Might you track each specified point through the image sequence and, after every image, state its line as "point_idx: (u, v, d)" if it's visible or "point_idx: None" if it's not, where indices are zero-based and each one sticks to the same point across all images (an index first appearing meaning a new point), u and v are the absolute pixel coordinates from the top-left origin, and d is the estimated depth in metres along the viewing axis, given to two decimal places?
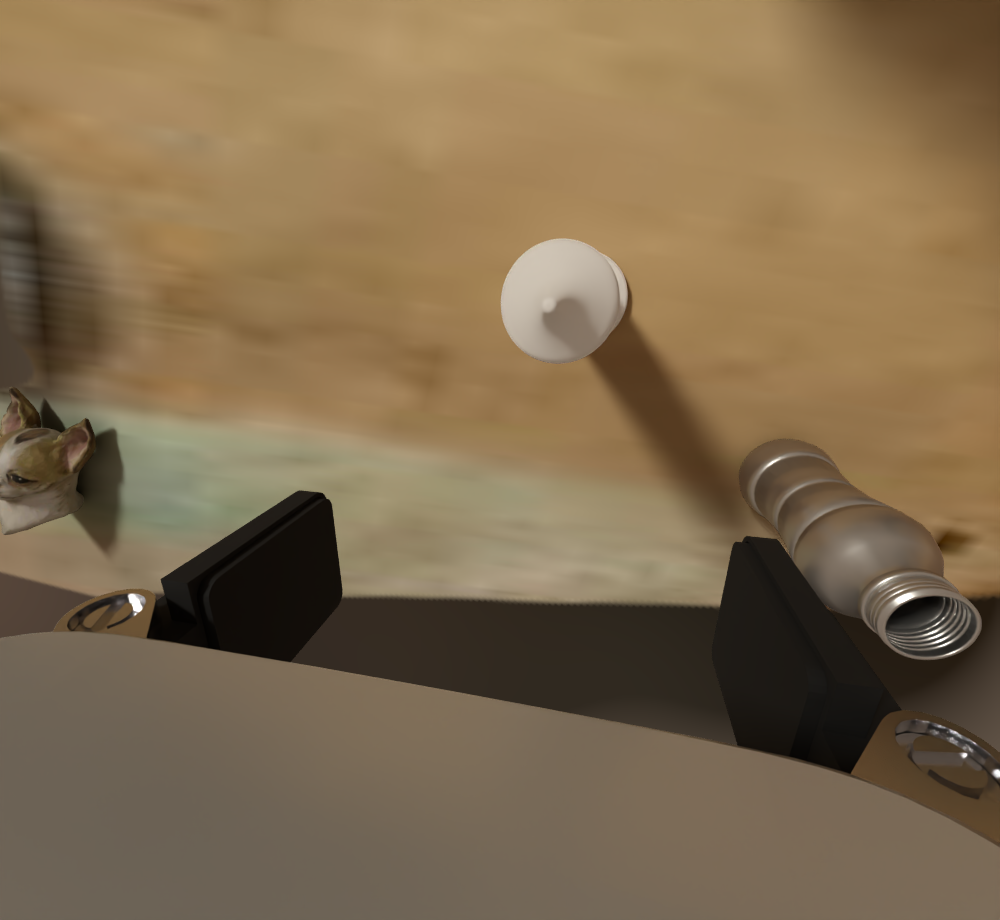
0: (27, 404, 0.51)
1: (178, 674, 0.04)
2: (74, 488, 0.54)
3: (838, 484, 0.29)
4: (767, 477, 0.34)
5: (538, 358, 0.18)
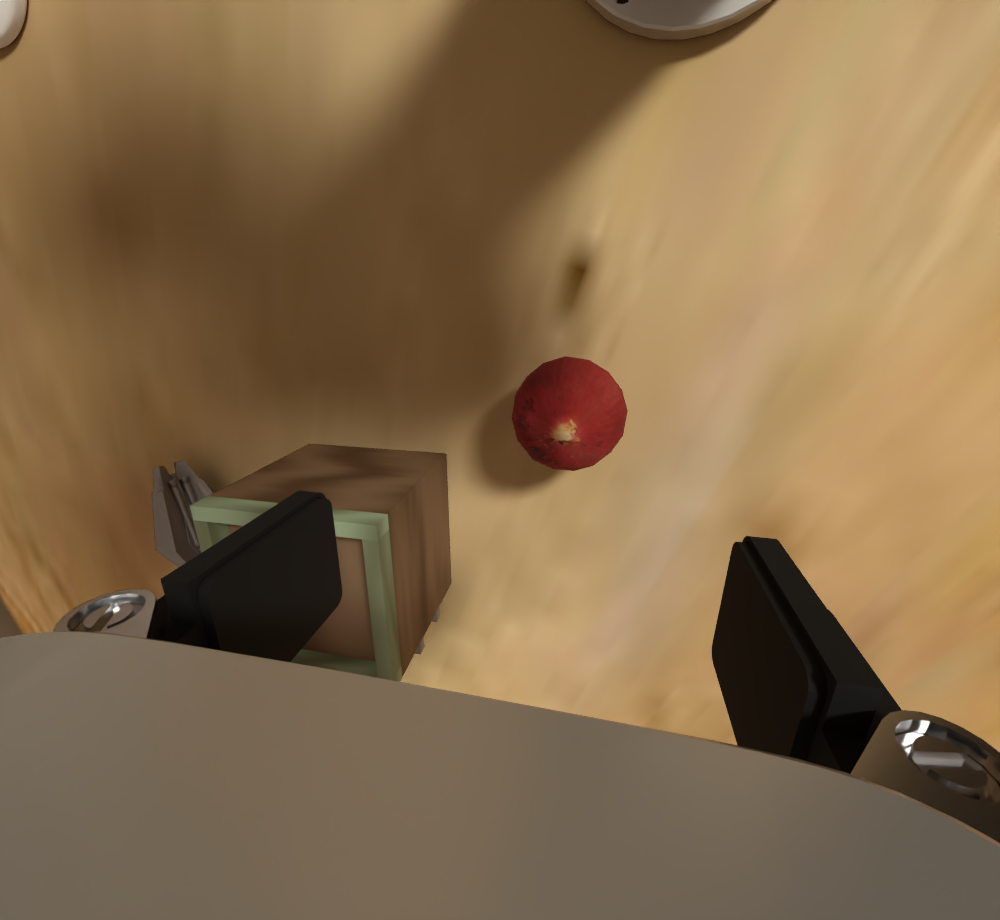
0: None
1: (178, 674, 0.04)
2: None
3: None
4: None
5: None
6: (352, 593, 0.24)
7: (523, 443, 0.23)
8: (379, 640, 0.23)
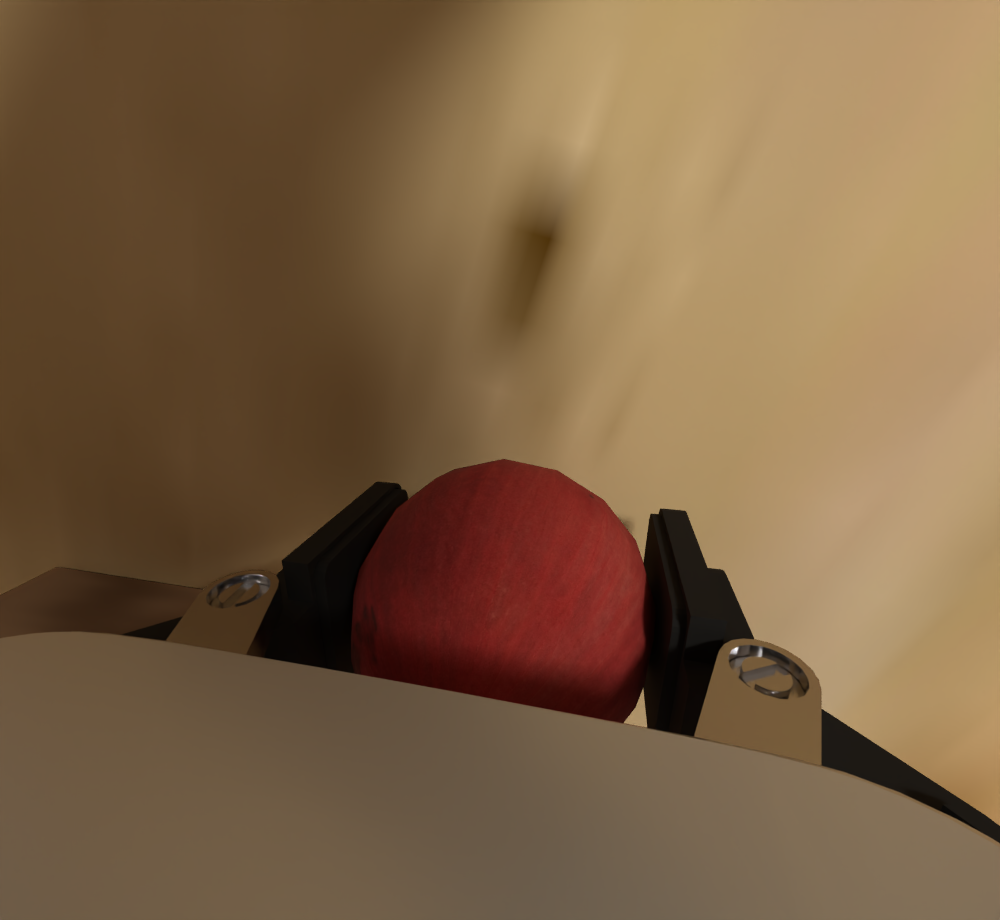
0: None
1: (178, 674, 0.04)
2: None
3: None
4: None
5: None
6: None
7: None
8: None
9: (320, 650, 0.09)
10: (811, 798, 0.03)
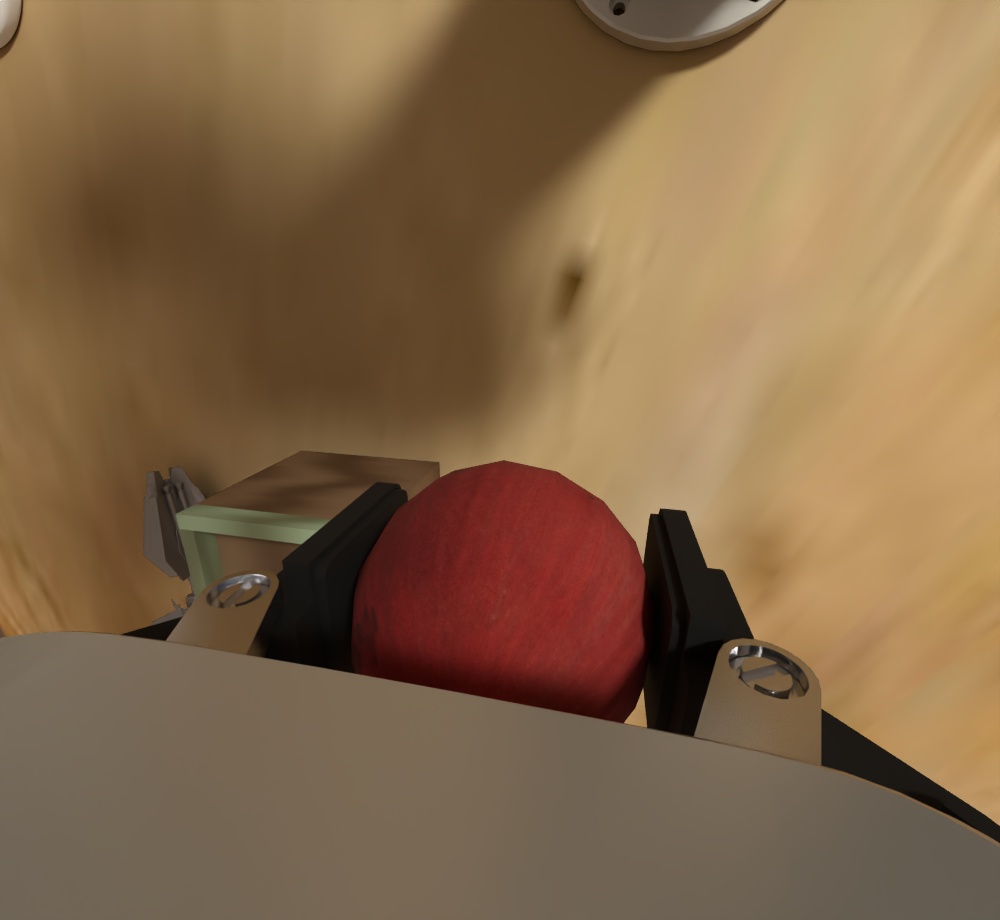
0: None
1: (178, 674, 0.04)
2: None
3: None
4: None
5: None
6: None
7: None
8: None
9: (321, 650, 0.09)
10: (810, 798, 0.03)
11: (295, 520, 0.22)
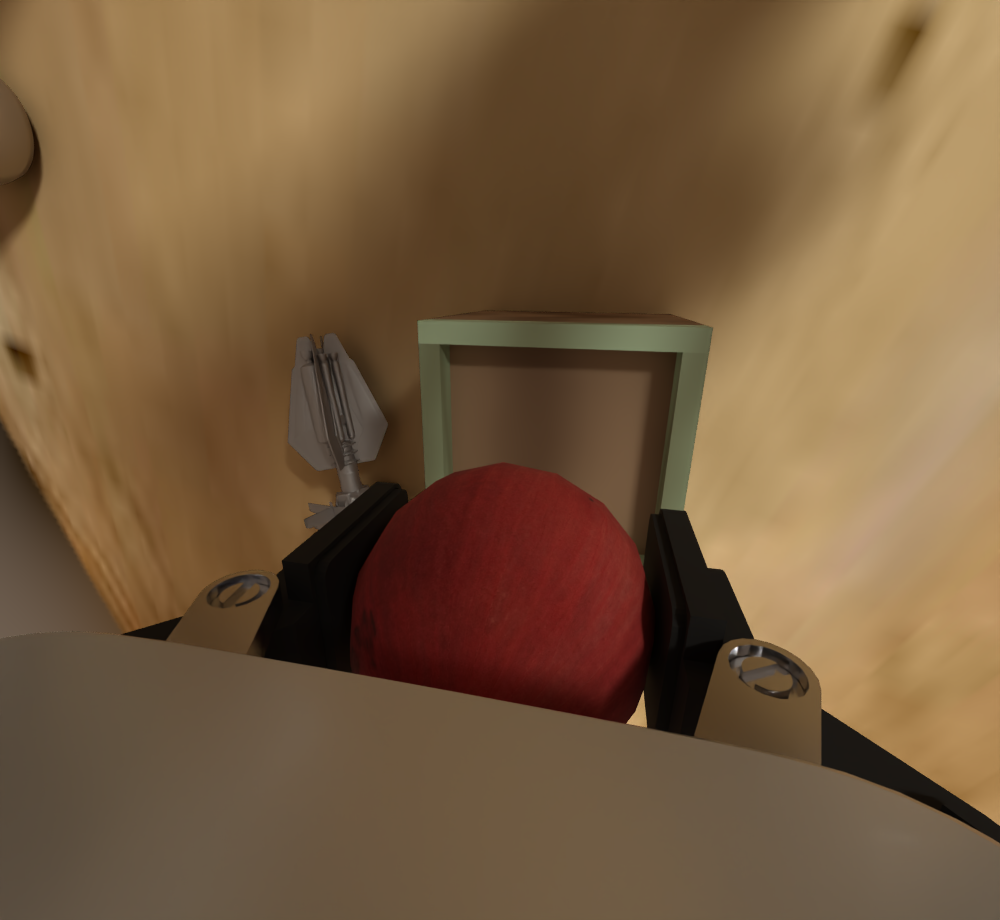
0: None
1: (178, 674, 0.04)
2: None
3: None
4: None
5: None
6: (619, 454, 0.18)
7: None
8: None
9: (320, 650, 0.09)
10: (811, 798, 0.03)
11: (587, 323, 0.16)
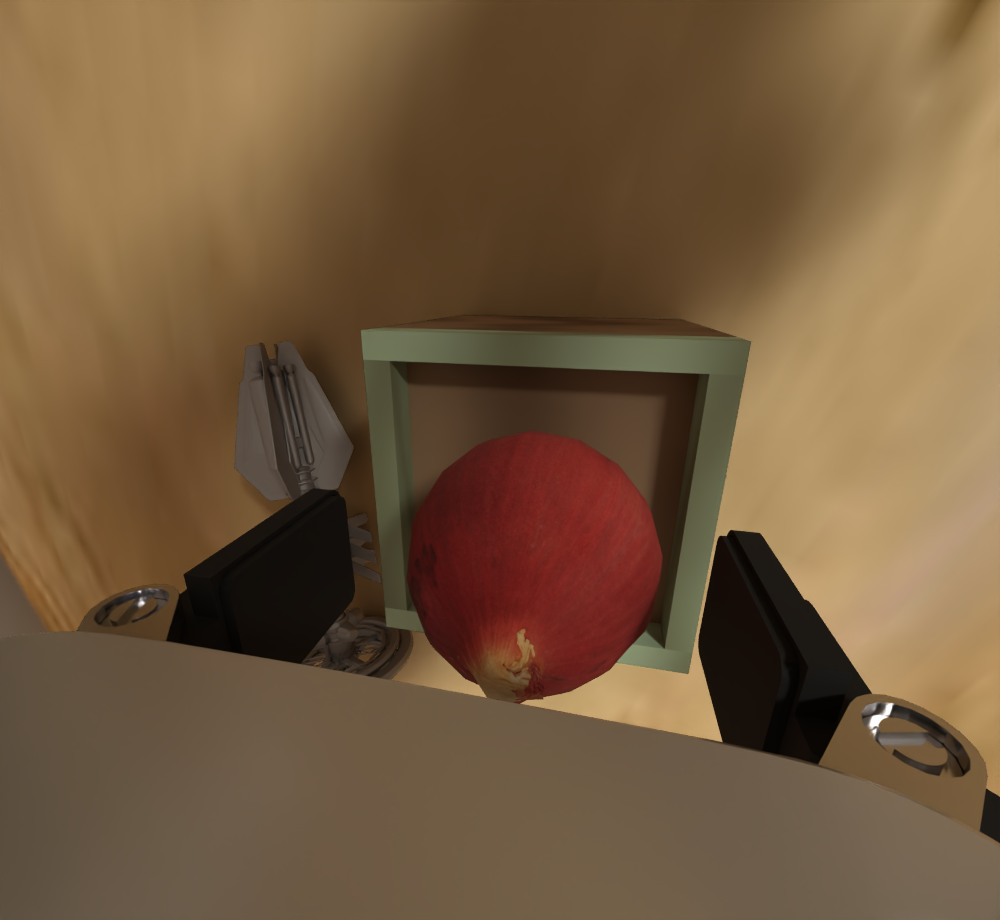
0: None
1: (178, 674, 0.04)
2: None
3: None
4: None
5: None
6: None
7: (425, 632, 0.10)
8: (689, 576, 0.13)
9: None
10: (810, 798, 0.03)
11: (581, 334, 0.12)
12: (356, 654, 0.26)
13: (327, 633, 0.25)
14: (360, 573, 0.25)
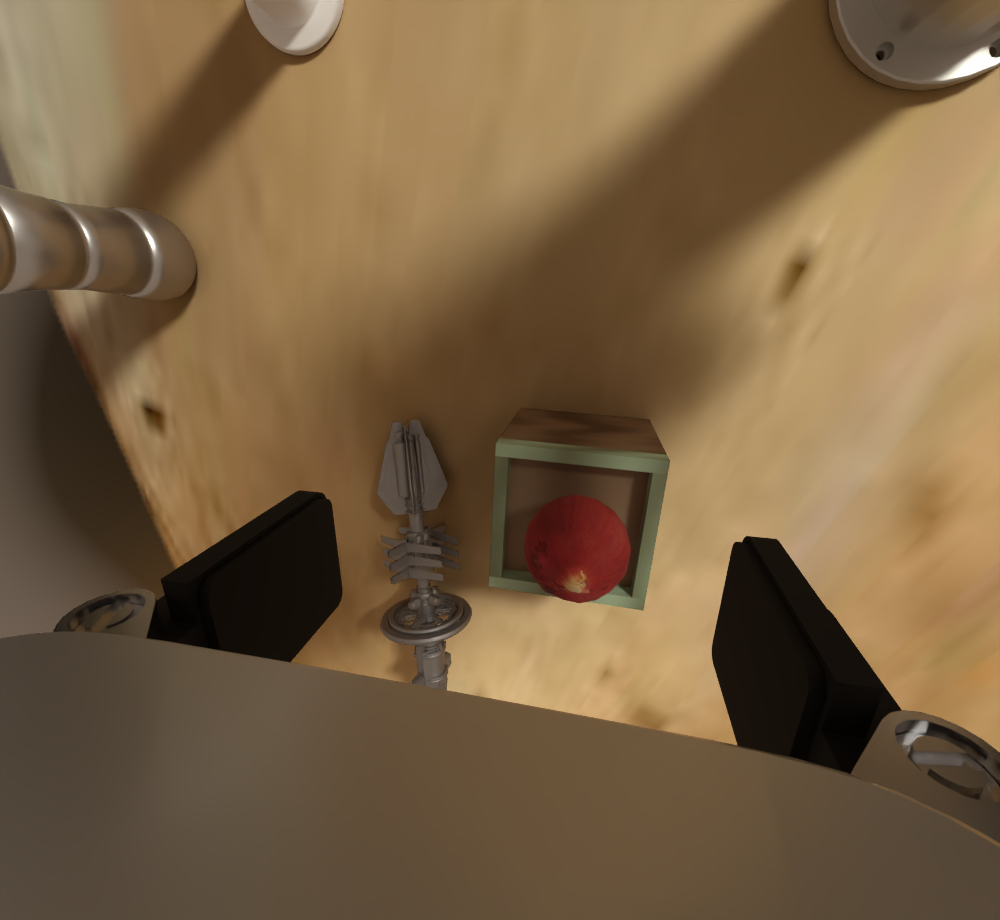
0: None
1: (178, 674, 0.04)
2: None
3: (77, 244, 0.29)
4: (113, 212, 0.32)
5: None
6: None
7: (534, 577, 0.25)
8: (643, 561, 0.28)
9: None
10: (811, 798, 0.03)
11: (597, 450, 0.27)
12: (436, 615, 0.41)
13: (421, 600, 0.40)
14: (443, 563, 0.40)
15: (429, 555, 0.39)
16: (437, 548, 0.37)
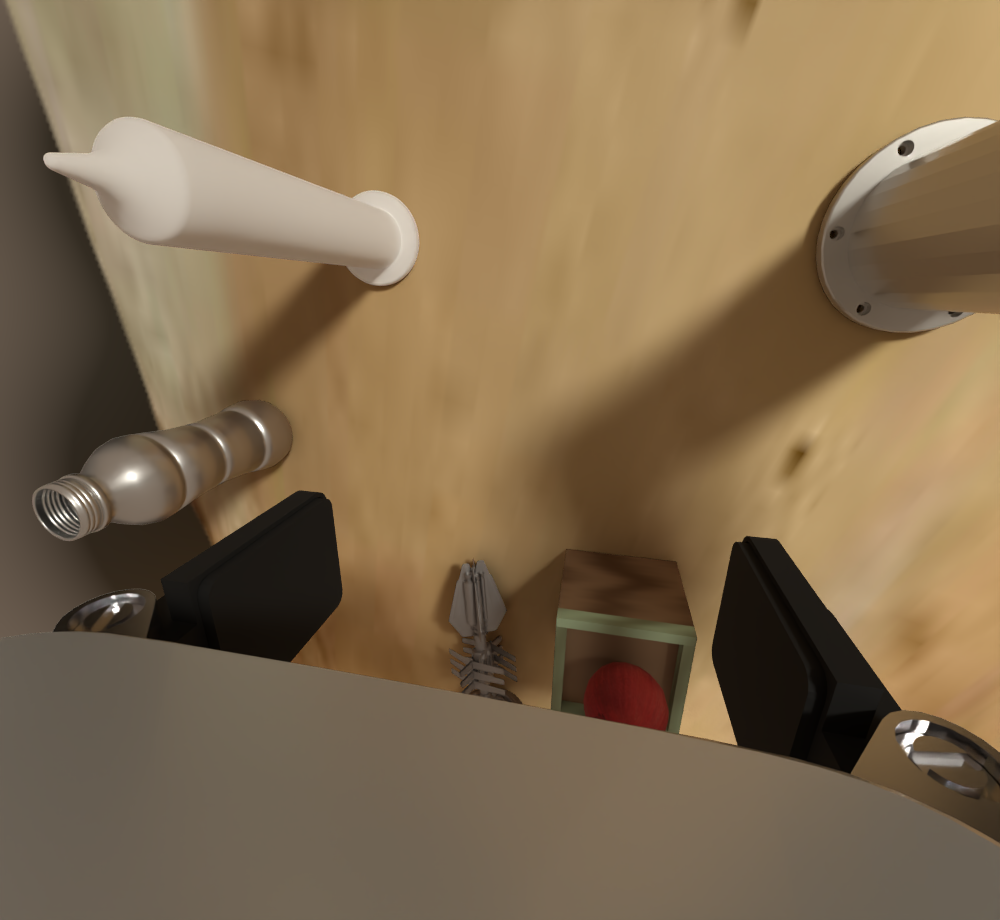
0: None
1: (178, 674, 0.04)
2: None
3: (220, 462, 0.37)
4: (236, 417, 0.40)
5: None
6: (651, 673, 0.36)
7: None
8: (677, 706, 0.35)
9: None
10: (810, 797, 0.03)
11: (638, 622, 0.35)
12: None
13: None
14: None
15: None
16: (500, 669, 0.44)
